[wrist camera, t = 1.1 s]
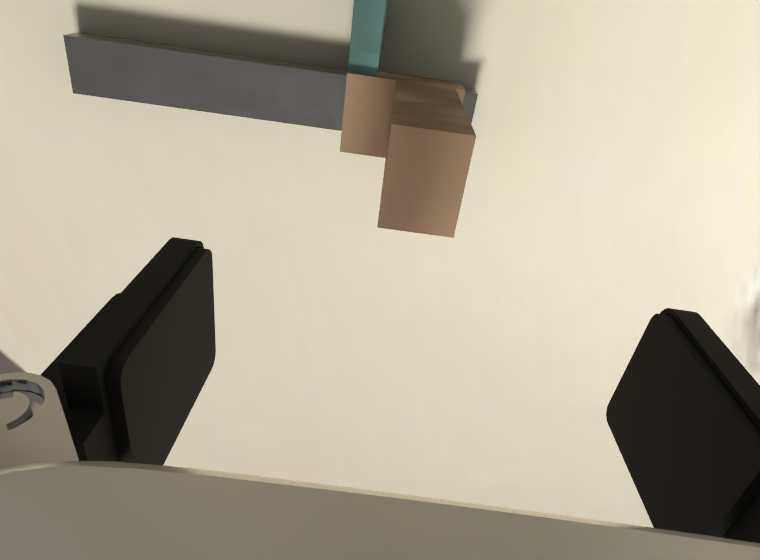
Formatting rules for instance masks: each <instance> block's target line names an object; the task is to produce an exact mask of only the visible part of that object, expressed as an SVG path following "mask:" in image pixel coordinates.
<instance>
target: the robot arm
mask: <svg viewBox="0 0 760 560" xmlns="http://www.w3.org/2000/svg"><path fill="white" fill-rule="evenodd" d="M215 352H216V348H215V321H214V294H213V267H212V253H211V251H210V250H209V249H204V247H203V244H202V242H201V241H195V240H188V239H181V238H171V239H170V240H169V241H168V242H167V243H166V244H165V245H164V246H163V247H162V248H161V250H160V251H159V252H158V253H157V254H156V255H155V256H154V257H153V258H152V259H151V261H150V262H149V263H148V264H147V265H146V266H145V267H144V268H143V269H142V270H141V272H140V273H139V274H138V275H137V276H136V277H135V278H134V279H133V280H132V281H131V283H130V284H129V285H128V286H127V287H126V288H125V289H124V290H123V291H122V292H121V293H119V294H116V295H115V296H114V297H112V298H111V299H110V300H109V301H108V303H107V304H106V305H105V306H104V307H103V308H102V309H101V310H100V311H99V312H98V313H97V314H96V316H95V317H94V318H93V319H92V320H91V321H90V322H89V323H88V324H87V325H86V326H85V327H84V329H83V330H82V331H81V332H80V333H79V334H78V335H77V336H76V337H75V338H74V339H73V340H72V342H71V343H70V344H69V345H68V346H67V347H66V348H65V349H64V350H63V351H62V352H61V353H60V355H59V356H58V357H57V358H56V359H55V360H54V361H53V362H52V363H51V364H50V365H49V366H48V368H47V369H46V370H45V371H44V372H43V373H42V374H41V375H36V374H31V373H8V374H2V375H0V560H760V385H759V384H758V383H757V382H756V381H755V379H754V378H753V377H752V376H751V375H750V374H749V372H748V371H747V370H746V369H745V368H744V367H743V365H742V364H741V363H740V362H739V361H738V359H737V358H736V357H735V356H734V355H733V354H732V352H731V351H730V350H729V349H728V348H727V347H726V345H725V344H724V343H723V342H722V341H721V339H720V338H719V337H718V336H717V335H716V334H715V332H714V331H713V330H712V329H711V328H710V327H709V325H708V324H707V323H706V322H705V321H704V319H703V318H702V317H701V316H700V315H699V314H698V313H696V312H691V311H684V310H677V309H670V308H667V309H664V310H663V311H662V312H661V313H660V314H655V315H654V316H653V317H652V318H651V320H650V322H649V324H648V326H647V328H646V330H645V332H644V334H643V336H642V338H641V340H640V342H639V344H638V346H637V348H636V350H635V352H634V354H633V356H632V358H631V360H630V362H629V364H628V366H627V368H626V370H625V372H624V374H623V376H622V378H621V380H620V382H619V384H618V386H617V388H616V390H615V392H614V394H613V396H612V398H611V400H610V402H609V404H608V407H607V412H606V417H607V422H608V425H609V427H610V429H611V431H612V434H613V436H614V438H615V440H616V443H617V445H618V447H619V449H620V452H621V454H622V456H623V459H624V461H625V463H626V465H627V468H628V470H629V472H630V474H631V477H632V479H633V481H634V484H635V486H636V488H637V490H638V493H639V495H640V497H641V499H642V502H643V504H644V506H645V509H646V511H647V513H648V515H649V518H650V520H651V522H652V524H653V527H654V528H650V527H642V526H635V525H628V524H621V523H613V522H606V521H599V520H592V519H584V518H577V517H570V516H562V515H555V514H547V513H540V512H532V511H525V510H517V509H510V508H502V507H495V506H487V505H480V504H472V503H464V502H457V501H449V500H442V499H434V498H426V497H419V496H411V495H404V494H396V493H388V492H380V491H372V490H364V489H356V488H348V487H340V486H333V485H325V484H317V483H309V482H301V481H293V480H285V479H277V478H269V477H261V476H253V475H245V474H236V473H228V472H219V471H211V470H202V469H193V468H184V467H173V466H163V464H164V462H165V460H166V458H167V456H168V454H169V453H170V451H171V449H172V447H173V445H174V443H175V441H176V439H177V437H178V435H179V433H180V431H181V429H182V427H183V425H184V423H185V421H186V419H187V417H188V415H189V413H190V411H191V409H192V407H193V405H194V403H195V401H196V399H197V397H198V395H199V393H200V391H201V389H202V387H203V385H204V383H205V381H206V379H207V377H208V375H209V373H210V371H211V369H212V367H213V364H214V360H215Z"/></svg>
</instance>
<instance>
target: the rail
mask: <svg viewBox="0 0 760 560" xmlns="http://www.w3.org/2000/svg"><path fill="white" fill-rule="evenodd" d="M64 41H65V47H66V53H67V59H68V65H69V71H70V77H71V83H72V89H73V93H76V94H83V95H91V96H98V97H105V98H112V99H119V100H126V101H133V102H140V103H148V104H155V105H162V106H169V107H176V108H183V109H190V110H197V111H204V112H212V113H219V114H226V115H233V116H240V117H247V118H254V119H261V120H269V121H276V122H283V123H290V124H297V125H304V126H311V127H318V128H326V129H333V130H340V131H342V123H343V112H344V101H345V90H346V78H347V72H348V71H344V70H337V69H330V68H323V67H316V66H309V65H302V64H295V63H288V62H281V61H274V60H267V59H260V58H253V57H246V56H239V55H232V54H225V53H218V52H211V51H204V50H198V49H191V48H184V47H177V46H170V45H163V44H156V43H149V42H142V41H135V40H128V39H121V38H114V37H107V36H100V35H93V34H86V33H73V34H67V35H64ZM477 95H478V94H477V93H476V91H475V89H470V88H465V95H464V100H463V107H464V109H465V112H466V114H467V116H468V119H469V121H470V123H472V118H473V113H474V109H475V104H476V99H477Z"/></svg>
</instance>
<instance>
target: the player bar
mask: <svg viewBox="0 0 760 560" xmlns="http://www.w3.org/2000/svg"><path fill="white" fill-rule="evenodd" d="M387 3H388V0H354V8H353V19H352V30H351V41H350V53H349V64H348V72H347V78H346V90H345V101H344V112H343V123H342V135H341V146H340V152H347V153H354V154H362V155H369V156H376V157H383V158H386V162H385V170H384V178H383V186H382V194H381V202H380V211H379V219H378V227H379V228H386V229H393V230H401V231H408V232H415V233H423V234H430V235H437V236H445V237H452V238H454V233H455V228H456V224H457V219H458V215H459V210H460V206H461V201H462V197H463V192H464V188H465V183H466V179H467V174H468V170H469V165H470V161H471V156H472V152H473V147H474V143H475V138H476V135H475V132H474V130H473V128H472V125H471V123H470V121H469V119H468V116H467V114H466V112H465V109H464V107H463V100H464V95H465V88H464V86H463V84H462V83H458V82H451V81H444V80H437V79H430V78H423V77H416V76H409V75H402V74H395V73H388V72H381V71H379V63H380V55H381V50H382V45H383V37H384V29H385V20H386V12H387Z"/></svg>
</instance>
